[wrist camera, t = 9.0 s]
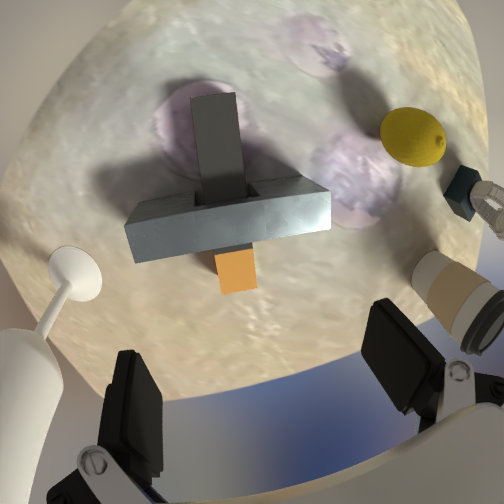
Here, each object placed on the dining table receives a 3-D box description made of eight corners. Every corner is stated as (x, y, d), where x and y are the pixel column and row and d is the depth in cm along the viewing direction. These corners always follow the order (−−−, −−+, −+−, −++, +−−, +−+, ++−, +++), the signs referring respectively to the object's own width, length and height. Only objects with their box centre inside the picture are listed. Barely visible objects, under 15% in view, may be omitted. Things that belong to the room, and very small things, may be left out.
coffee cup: (434, 231, 30) (516, 290, 17) (453, 260, 34) (518, 314, 21) (395, 284, 33) (466, 358, 20) (419, 305, 36) (477, 368, 23)
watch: (458, 220, 31) (513, 255, 21) (438, 188, 27) (505, 221, 18) (475, 191, 29) (530, 219, 19) (456, 155, 26) (523, 180, 16)
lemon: (364, 103, 22) (421, 104, 15) (405, 109, 22) (461, 116, 15) (364, 157, 24) (419, 175, 17) (404, 159, 25) (458, 177, 18)
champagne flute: (112, 293, 26) (64, 535, 4) (67, 307, 25) (5, 507, 4) (84, 237, 22) (-38, 486, 1) (38, 257, 22) (-72, 454, 1)
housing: (139, 202, 22) (123, 225, 17) (303, 175, 24) (330, 191, 19) (146, 233, 24) (135, 263, 19) (304, 206, 25) (330, 228, 20)
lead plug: (191, 101, 19) (190, 98, 16) (230, 96, 20) (235, 92, 17) (218, 276, 27) (221, 294, 24) (250, 270, 27) (257, 288, 25)
